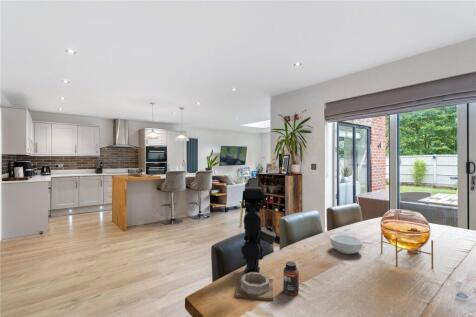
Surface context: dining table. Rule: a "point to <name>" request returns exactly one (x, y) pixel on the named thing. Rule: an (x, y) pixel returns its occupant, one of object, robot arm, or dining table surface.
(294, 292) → the supplement bottle
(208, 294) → the dining table surface
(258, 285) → the ring holder
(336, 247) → the cereal bowl
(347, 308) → the dining table surface
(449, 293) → the dining table surface
